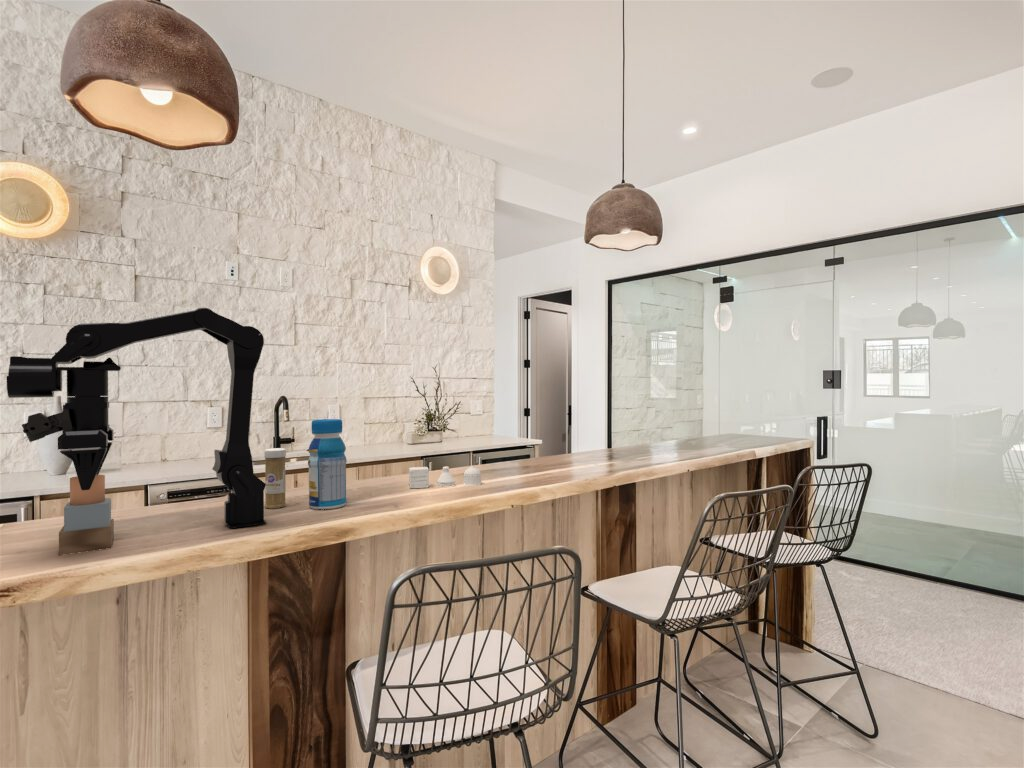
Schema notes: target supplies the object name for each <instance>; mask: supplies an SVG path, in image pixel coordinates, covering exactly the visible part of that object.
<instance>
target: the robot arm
mask: <svg viewBox="0 0 1024 768" xmlns="http://www.w3.org/2000/svg"><path fill="white" fill-rule="evenodd" d="M194 331H195V332H196V331H202V332H204V333H205V334H207V335H209V336H211V338H213V339H215V340H217V341H219V343H220V342H221V343H222V344H223V345H225V346H226V348H227V349H226V350H227V357H228V361H229V362H228V363H229V367H230V372H231V373H230V374H231V375H230V386H229V388H230V389H229V395H228V396H229V399H228V411H227V421H226V434H225V435H226V436H225V442H224V444H223V446H222V449H221V450H219V449H214V450H213V452H214V465H213V466H212V468H211V470H212V471H214V472H215V475H216V477H217V479H218V481H219V482H221V484H223V485H225V486H226V487H227V489H228V491H229V493H227V500H225V501H224V502H223V503H224V505H223V506H224V510H223V511H224V514H223V515H224V517H223V518H224V524H226V525H227V526H228V528H229V529H235V528H236V529H237V528H245V527H251V526H258V525H265V524H266V523H267V522H266V520H265V501H264V500H265V498H264V493H265V486H266V484H265V481H263V480H261V479H260V478H259V477H258V476H257V475H255V474H254V464H253V457H252V451H251V448H250V441H249V439H250V438H249V437H250V427H251V426H250V425H251V413H252V403H253V387H254V376H255V372H256V369H257V366H258V363H259V361H260V358H261V354H262V351H263V347H264V344H265V340H264V339H265V338H264V335H263V333H262V332H261V331H260V330H259V329H257V328H256V327H254V326H250V325H242V324H240V323H238V322H237V321H235V320H232V319H230V318H227V317H225V316H223V315H220V314H218V313H217V312H215V311H213V310H212V309H210V308H207V307H198V308H196V309H195V310H189V311H183V312H177V313H172V314H167V315H161V316H157V317H156V316H155V317H151V318H146V319H141V320H135V321H129V322H91V323H80V324H76V325H74V326H73V327H71V328H70V329H69V331H67V333H66V336H65V344H64V345H63V346H62V347H61V348H60V349H59V350H58V351H57V352H54V355H53V356H52V357H46V358H45V357H43V358H42V357H24V356H18V355H17V356H15V355H14V356H10V357H9V367H8V375H6V393H7V397H8V398H9V399H13V398H14V399H16V398H18V399H19V398H20V399H21V398H22V399H23V398H25V399H26V398H27V399H28V398H54V396H55V392H62V391H63V372H66V402H64V403H65V404H63V405H62V411H61V412H58V413H55V414H54V413H53V414H51V415H46V414H44V413H43V412H38V413H35V414H34V413H33V414H32V415H31V414H30V415H28V416H27V422H25V423H23V424H21V428H22V432H23V433H24V434H25V436H26V437H27V438H28V439H27V440H28V441H29V442H30V443H32V442H34V441H35V442H36V441H38V440H40V439H44V438H45V437H46V436H50V435H52V434H55V433H59V432H62V433H61V435H60V436H58V437H57V450H60V451H59V453H61V455H64V456H65V457H67V458H69V459H70V460H71V461H72V462H73V467H74V469H75V474H76V476H77V477H78V480H79V483H80V487H81V490H89V489H90V488H91V485H92V483H93V481H94V478H95V476H96V475H100V474H99V473H100V472H101V469H102V467H103V465H104V463H105V460H106V459H107V456H108V454H109V451H110V449H111V447H112V445H113V441H114V429H113V428H111V427H110V424H109V408H110V401H109V372H119V371H120V370H121V368H122V367H121V366H120V365H118V364H117V363H116V362H114V360H113V359H112V357H110V356H109V357H107V358H106V360H104V361H90V359H96V358H98V357H102V356H104V355H108V354H109V353H113V352H115V351H118V350H120V349H123V348H124V347H127V346H130V345H133V344H135V343H136V344H137V343H140V342H141V343H142V342H147V341H151V340H155V339H161V338H165V337H171V336H175V335H180V334H185V333H190V332H194ZM81 359H85V360H83V365H82V366H59V365H71V364H73V363H76V362H77V361H79V360H81ZM86 359H87V360H88V359H89V361H86ZM110 441H111V442H110Z"/></svg>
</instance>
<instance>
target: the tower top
mask: <svg viewBox="0 0 1024 768" xmlns="http://www.w3.org/2000/svg"><path fill="white" fill-rule="evenodd" d="M111 519H112V497H105V501H104V502H101V503H97V504H90V505H78V506H74V505H70V501H68V502H67V503H66V505H65V506H64V508H63V526H64V532H68V531H76V530H84V529H92V528H101V527H109V525H110V522H111Z"/></svg>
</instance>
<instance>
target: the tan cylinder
mask: <svg viewBox="0 0 1024 768" xmlns="http://www.w3.org/2000/svg"><path fill="white" fill-rule="evenodd" d="M105 498H106V475H105V474H98V475H96V476H95V478H94V481H93V483H92V485H91V488H90V489H89V490H81V487H80V483H79V480H78V477H77V475H76V476H71V477H70V478H69V502H70V505H74V506H78V505H90V504H97V503H101V502H104V501H105Z"/></svg>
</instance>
